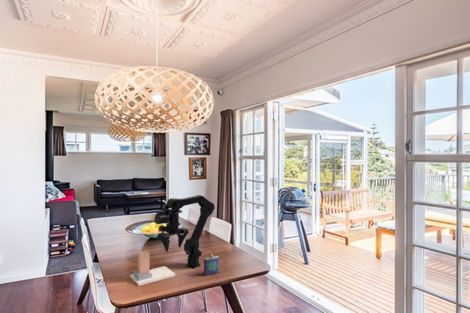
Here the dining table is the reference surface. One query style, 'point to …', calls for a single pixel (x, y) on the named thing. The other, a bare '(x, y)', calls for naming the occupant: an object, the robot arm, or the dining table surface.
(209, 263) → the flask
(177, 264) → the dining table surface
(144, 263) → the tall peach block
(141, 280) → the dock
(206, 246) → the dining table surface
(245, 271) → the dining table surface
